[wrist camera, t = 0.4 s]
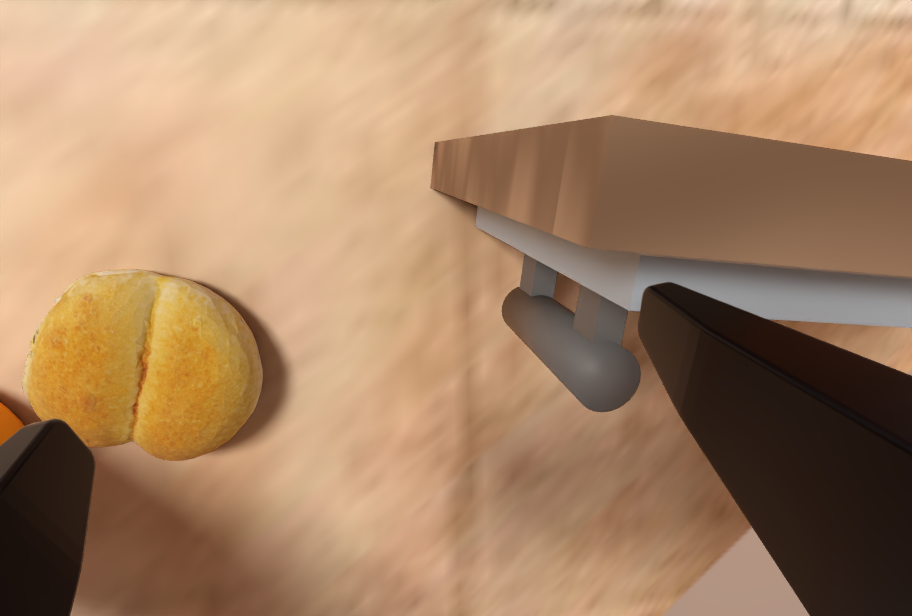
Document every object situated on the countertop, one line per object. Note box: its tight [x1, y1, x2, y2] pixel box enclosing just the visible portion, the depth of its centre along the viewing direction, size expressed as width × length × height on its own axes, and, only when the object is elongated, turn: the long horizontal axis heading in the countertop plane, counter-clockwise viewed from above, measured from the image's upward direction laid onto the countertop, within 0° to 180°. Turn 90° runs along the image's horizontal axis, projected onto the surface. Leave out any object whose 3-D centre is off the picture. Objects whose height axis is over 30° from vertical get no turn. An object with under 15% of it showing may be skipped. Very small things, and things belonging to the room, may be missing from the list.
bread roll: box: [22, 269, 263, 461], centre depth 22 cm, size 8×9×4 cm
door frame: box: [431, 115, 912, 277], centre depth 18 cm, size 2×17×16 cm, turn 83°
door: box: [475, 206, 912, 412], centre depth 19 cm, size 6×12×14 cm, turn 83°
